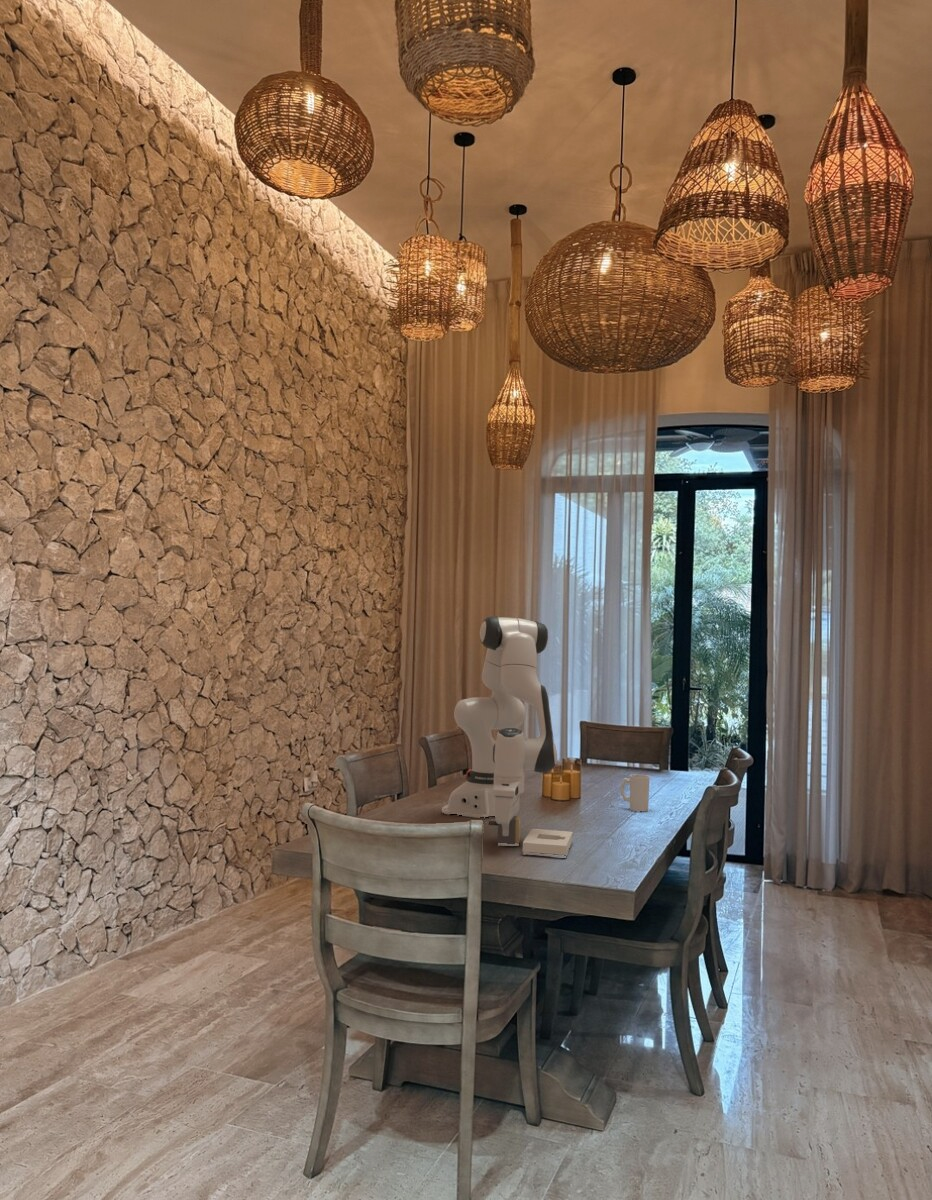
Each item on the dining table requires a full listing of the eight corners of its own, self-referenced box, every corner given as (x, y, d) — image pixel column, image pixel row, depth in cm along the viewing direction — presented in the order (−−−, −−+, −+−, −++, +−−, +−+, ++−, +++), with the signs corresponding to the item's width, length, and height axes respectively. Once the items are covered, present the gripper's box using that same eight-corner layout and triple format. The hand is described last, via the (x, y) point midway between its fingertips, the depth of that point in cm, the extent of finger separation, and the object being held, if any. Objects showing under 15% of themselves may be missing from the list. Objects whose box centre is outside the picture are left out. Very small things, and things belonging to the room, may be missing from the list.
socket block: (522, 855, 250) (522, 842, 250) (531, 840, 268) (532, 828, 268) (565, 858, 247) (566, 846, 247) (572, 843, 265) (572, 831, 265)
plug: (487, 845, 260) (487, 817, 260) (489, 842, 264) (490, 814, 264) (518, 847, 258) (518, 819, 259) (520, 844, 262) (520, 816, 262)
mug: (650, 809, 319) (651, 775, 320) (647, 813, 313) (647, 778, 314) (621, 806, 323) (622, 773, 323) (618, 810, 317) (618, 775, 317)
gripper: (504, 779, 272) (502, 825, 272) (491, 790, 252) (490, 840, 252) (525, 780, 271) (523, 826, 271) (513, 792, 251) (512, 842, 251)
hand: (507, 833), depth 261 cm, fingers closed on plug, 4 cm apart
